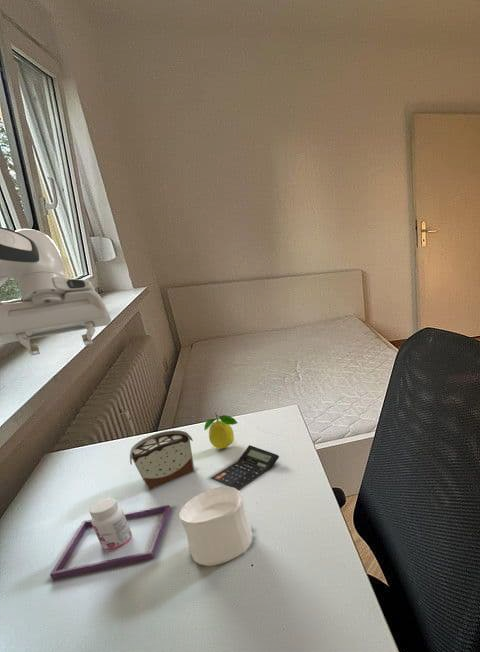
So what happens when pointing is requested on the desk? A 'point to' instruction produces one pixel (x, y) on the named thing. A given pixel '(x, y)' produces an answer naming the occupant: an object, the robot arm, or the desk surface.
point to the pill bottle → (110, 524)
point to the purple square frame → (60, 573)
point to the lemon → (221, 431)
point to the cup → (216, 526)
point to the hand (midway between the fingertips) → (62, 348)
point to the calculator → (247, 468)
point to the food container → (163, 457)
